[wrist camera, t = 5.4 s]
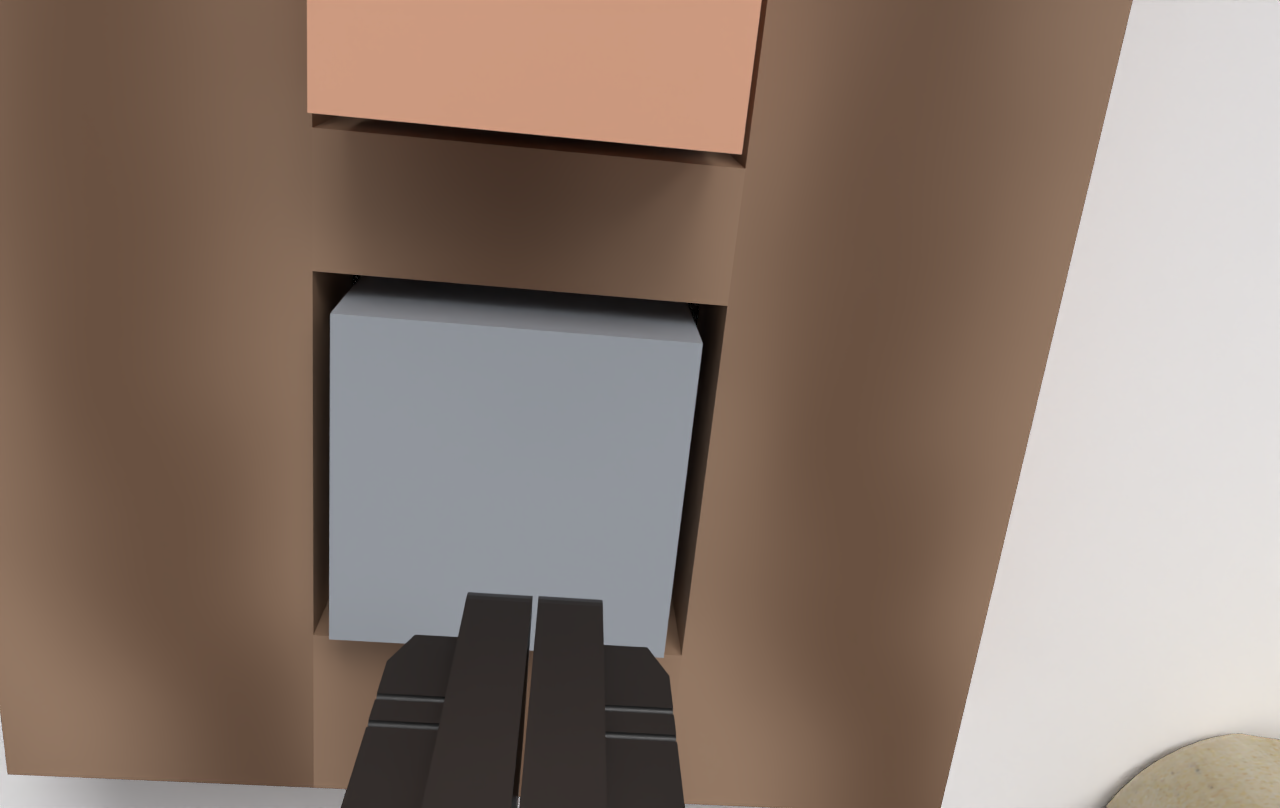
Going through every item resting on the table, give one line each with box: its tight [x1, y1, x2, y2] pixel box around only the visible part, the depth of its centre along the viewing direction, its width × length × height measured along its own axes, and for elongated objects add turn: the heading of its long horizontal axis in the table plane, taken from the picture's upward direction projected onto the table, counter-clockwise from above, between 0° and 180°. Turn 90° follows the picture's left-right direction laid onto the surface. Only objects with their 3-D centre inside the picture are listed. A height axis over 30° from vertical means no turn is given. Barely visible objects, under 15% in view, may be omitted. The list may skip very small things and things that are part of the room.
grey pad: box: [329, 275, 703, 658], centre depth 17 cm, size 5×5×3 cm
